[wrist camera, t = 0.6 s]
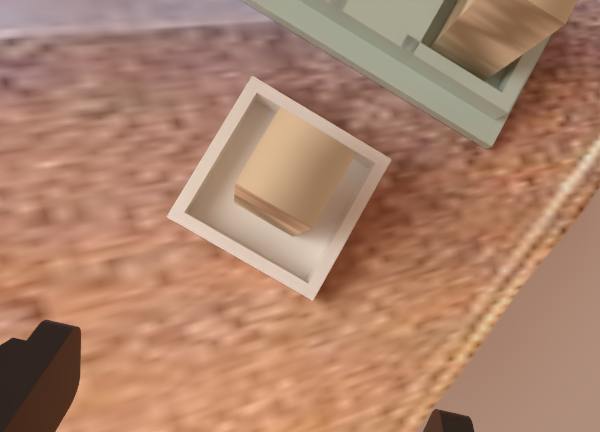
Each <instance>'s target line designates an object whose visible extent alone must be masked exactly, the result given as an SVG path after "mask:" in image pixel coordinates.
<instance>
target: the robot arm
mask: <svg viewBox="0 0 600 432" xmlns="http://www.w3.org/2000/svg"><path fill="white" fill-rule="evenodd" d="M80 358H81V330H80V328H79V327H76V326H72V325H67V324H63V323H58V322H54V321H50V320H44V321H42V322H41V323H40V324H39V325H38V327H37V328H36V329H35V330H34V332H33V333H32V334H31V336H30V337H29V338H28V340H27V341H25V340H21V339H16V338H12V339H10V340H8V341H7V342H5V343H3V344H2V345H0V432H55V431H56V429H57V428H58V426H59V424H60V423H61V421H62V419H63V417H64V416H65V414H66V412H67V411H68V409H69V407H70V405H71V404H72V402H73V399H74V397H75V395H76V392H77V389H78V385H79V380H80ZM423 432H474V429H473V424H472V421H471V419H470V417H469V416H464V415H460V414H456V413H451V412H447V411H442V410H438V409H435V410H434V411H433V412H432V414H431V416H430V418H429V420H428V422H427V425H426V427H425V429H424V431H423Z"/></svg>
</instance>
